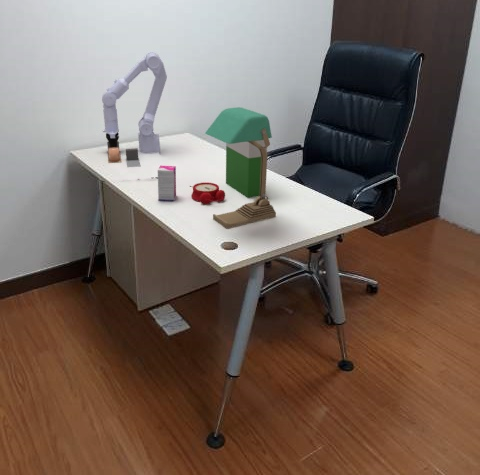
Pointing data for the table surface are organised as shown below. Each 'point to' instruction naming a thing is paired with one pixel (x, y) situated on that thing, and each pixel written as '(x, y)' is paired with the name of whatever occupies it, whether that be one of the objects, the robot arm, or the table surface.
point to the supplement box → (166, 183)
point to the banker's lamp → (256, 128)
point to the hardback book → (244, 167)
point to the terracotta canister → (114, 154)
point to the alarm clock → (207, 193)
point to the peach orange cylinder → (108, 154)
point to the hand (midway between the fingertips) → (113, 150)
